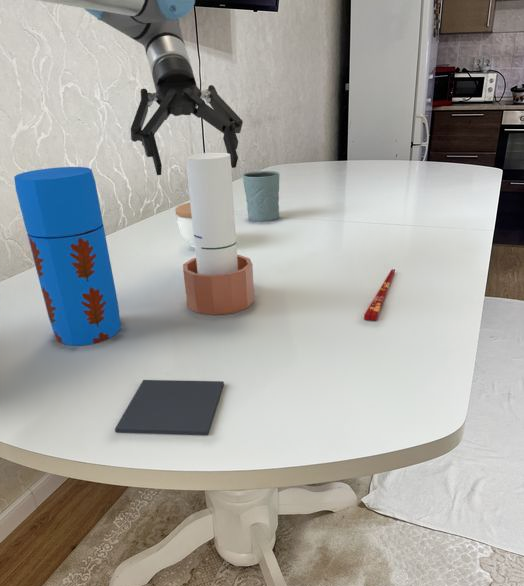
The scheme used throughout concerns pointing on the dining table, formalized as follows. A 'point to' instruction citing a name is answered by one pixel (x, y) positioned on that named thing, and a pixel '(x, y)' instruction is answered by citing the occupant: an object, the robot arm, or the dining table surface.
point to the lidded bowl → (185, 222)
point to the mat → (172, 407)
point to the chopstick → (378, 299)
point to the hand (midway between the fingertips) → (197, 166)
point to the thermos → (70, 252)
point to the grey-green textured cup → (262, 195)
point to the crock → (219, 288)
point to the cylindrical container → (212, 212)
